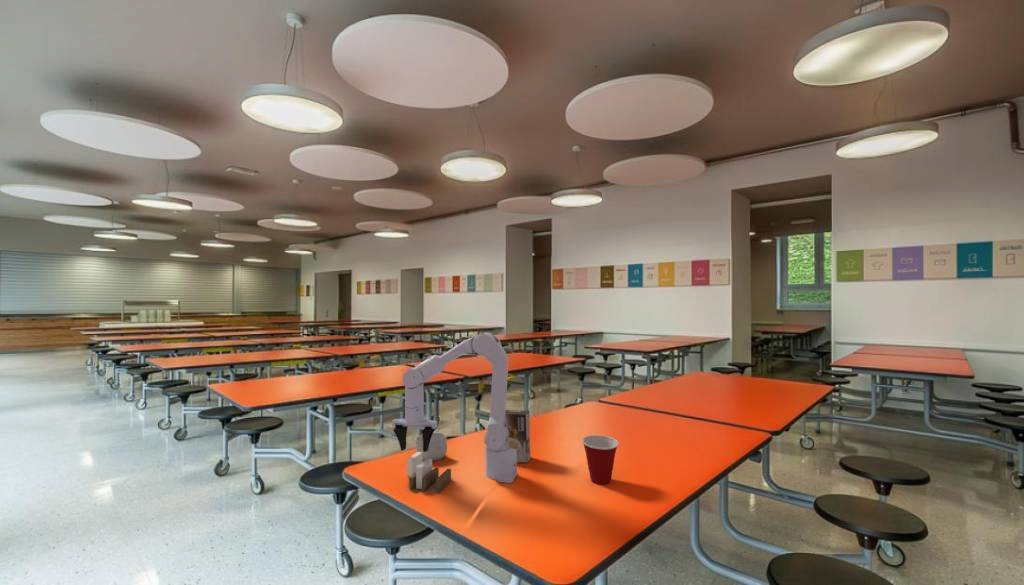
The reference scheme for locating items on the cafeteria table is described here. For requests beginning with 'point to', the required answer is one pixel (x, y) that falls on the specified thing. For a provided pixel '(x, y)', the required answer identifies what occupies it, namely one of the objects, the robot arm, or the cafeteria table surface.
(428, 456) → the teacup
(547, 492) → the cafeteria table surface
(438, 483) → the rack
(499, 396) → the robot arm
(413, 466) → the white upright slab
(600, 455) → the plastic cup
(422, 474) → the racked plate
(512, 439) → the coffee box
